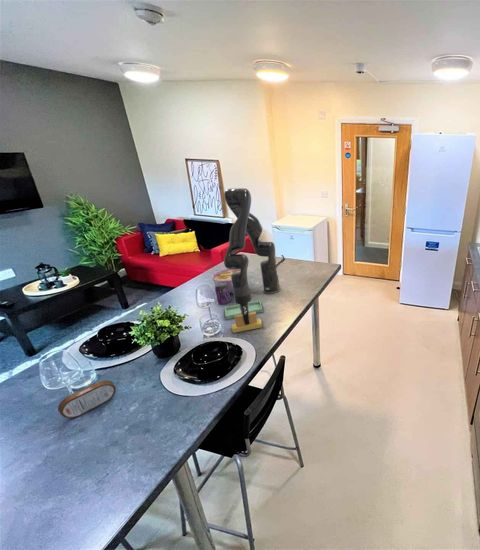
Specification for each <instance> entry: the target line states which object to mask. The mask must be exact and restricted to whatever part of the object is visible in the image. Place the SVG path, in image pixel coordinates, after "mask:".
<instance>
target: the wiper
mask: <svg viewBox="0 0 480 550" xmlns="http://www.w3.org/2000/svg"><path fill="white" fill-rule="evenodd" d="M248 316H249V324H247V325H245V323H244V319H243V315H242V314H239V315H235V318H234V320H235V323H232V324H231V331H232V334H236V333H240V332H246V331H250V330H255V329H262V328H263V324H262V319H261V318H257V313H256V312H250V313H249V314H248Z"/></svg>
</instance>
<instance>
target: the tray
mask: <svg viewBox="0 0 480 550" xmlns="http://www.w3.org/2000/svg"><path fill="white" fill-rule="evenodd" d="M248 307H249V308H248V310H249V313H250V312H256V314H260V313H263V312H264V310H263V306H262V303H261V300H257V301H256V300H255V301H252V302H251V301H250V302H248ZM224 314H225V315H224V317H225V320H230V319H235V315H239V314H242V313H241V310H240V305H239V304H235V305H231V306H225V307H224Z"/></svg>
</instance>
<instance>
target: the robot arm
mask: <svg viewBox="0 0 480 550" xmlns="http://www.w3.org/2000/svg"><path fill="white" fill-rule="evenodd" d="M223 196H224V197H223V198H224V201H225V203H226V205H227V206H228V208H229V209H230V211H231V213H232V214H234V217H236V219H235V221H234V222H233V224H232V226H231V228H230V230H229V236H228V237H229V238H228V246H227V249H226V253H225V255H224V258H223V265H224V267H225V269H240V271H239V272H235V273H233V274H232V275H231V280H232V285H233V293H232V294H233V300H234V303H235V305H240V310H241V313H242V315H243V319H244V323H245V325H247V324H249V316H248V314H249V310H248V308H249V307H248V303H251V301H252V297H251V289H250V285H249V281H248V267H249V261H250V260H249V257H248V256H247V255H246V254H244V253H237V252H238V251H242V250H244V249H245V248H246V237H248V239H249V240H250V243H251V245H252V247H253V250H254V252H255V254H256V255H257V256H258V257H262V258H263V257H264V258H267V259H264V260H262V261H261V262H260V271H261V272H260V273H261V279H262V287H263V292H264V293H265V294H268V295H270V294H271V295H272V294H277V293H278V292H279V291H280V282H279V275H278V270H277V267H278V266H279V265H280V264H281V263H282V262H283V261H284V260H285V256H284V255H283V254H282V255H280V256H281V257H282V259H281V260H280V261H279V262H278V263H277V256H276V245H275V243H274V241H264V240H263V241H262V240H261V239H260V238H261V235H262V233H263V226H262V224H261V222H260V220H259V219H258V217H256V216H255V215H254V214H253V213H252V212H250V211H251V208H252V207H251V206H252V195H251V191H250V190H249V189H247V188H242V187H239V188H237V187H235V188H227V189H225V191H224V193H223ZM246 235H247V236H246Z"/></svg>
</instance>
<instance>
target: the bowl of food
mask: <svg viewBox="0 0 480 550" xmlns="http://www.w3.org/2000/svg"><path fill="white" fill-rule="evenodd" d="M239 271H240V269H228V268H224V269H221V270H218V271H216V272H214V273H213V274H212V275H211V279H212V282H213V283H214V285H215V284H216V283H219V282H226V284H227V285H228V289H229V294H233V285H232V280H231V275H232V274H233V273H235V272H239Z"/></svg>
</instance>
